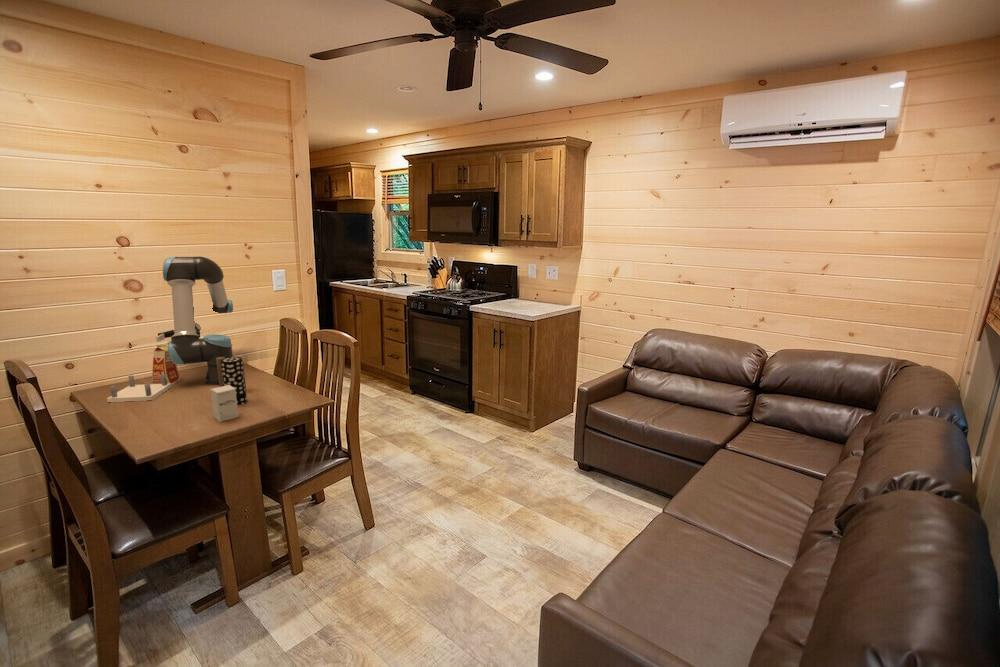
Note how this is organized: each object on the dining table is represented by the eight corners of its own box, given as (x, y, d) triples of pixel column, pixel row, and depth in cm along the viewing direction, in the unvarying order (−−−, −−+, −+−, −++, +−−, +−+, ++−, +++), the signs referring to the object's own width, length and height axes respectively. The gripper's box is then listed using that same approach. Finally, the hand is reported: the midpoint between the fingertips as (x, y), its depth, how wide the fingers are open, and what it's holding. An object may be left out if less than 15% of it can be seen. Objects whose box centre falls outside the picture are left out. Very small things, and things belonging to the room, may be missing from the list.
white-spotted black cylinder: (238, 398, 223) (233, 356, 219) (251, 401, 220) (246, 358, 215) (221, 404, 216) (216, 360, 211) (234, 407, 212) (228, 363, 208)
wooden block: (246, 391, 232) (242, 355, 228) (221, 396, 224) (216, 359, 220) (244, 389, 234) (239, 353, 230) (219, 394, 227) (214, 357, 223)
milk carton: (169, 385, 239) (163, 346, 234) (151, 385, 239) (144, 346, 234) (182, 379, 247) (176, 341, 243) (164, 379, 248) (158, 341, 243)
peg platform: (171, 387, 236) (169, 373, 235) (152, 400, 219) (149, 386, 217) (131, 388, 234) (128, 374, 232) (107, 402, 216) (104, 387, 215)
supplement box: (219, 422, 197) (215, 393, 194) (213, 417, 202) (209, 388, 199) (239, 417, 202) (235, 388, 199) (232, 412, 207) (229, 384, 204)
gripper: (215, 335, 272) (199, 345, 252) (167, 336, 268) (146, 346, 248) (214, 322, 270) (197, 331, 250) (165, 323, 267) (143, 332, 246)
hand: (171, 339), depth 249 cm, fingers open, 13 cm apart
